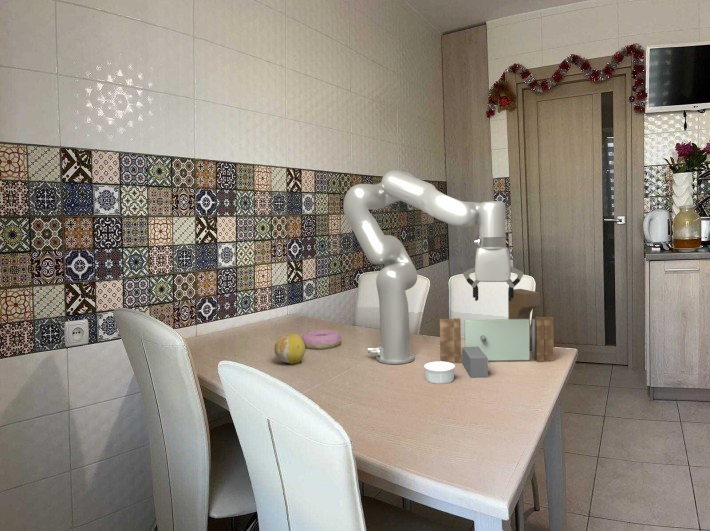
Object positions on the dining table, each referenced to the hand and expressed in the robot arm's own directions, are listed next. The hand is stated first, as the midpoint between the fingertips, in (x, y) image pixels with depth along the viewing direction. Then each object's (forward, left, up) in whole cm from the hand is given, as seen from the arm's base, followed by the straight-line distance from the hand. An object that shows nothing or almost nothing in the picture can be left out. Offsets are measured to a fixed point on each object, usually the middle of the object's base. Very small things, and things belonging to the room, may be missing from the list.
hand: (493, 300), depth 155 cm
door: (+4, +9, -21) cm, 23 cm away
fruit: (-65, +11, -22) cm, 69 cm away
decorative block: (+15, +26, -22) cm, 37 cm away
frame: (+2, +10, -21) cm, 24 cm away
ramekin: (-17, -8, -22) cm, 29 cm away
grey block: (-6, 0, -22) cm, 22 cm away
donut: (-58, +35, -22) cm, 71 cm away
